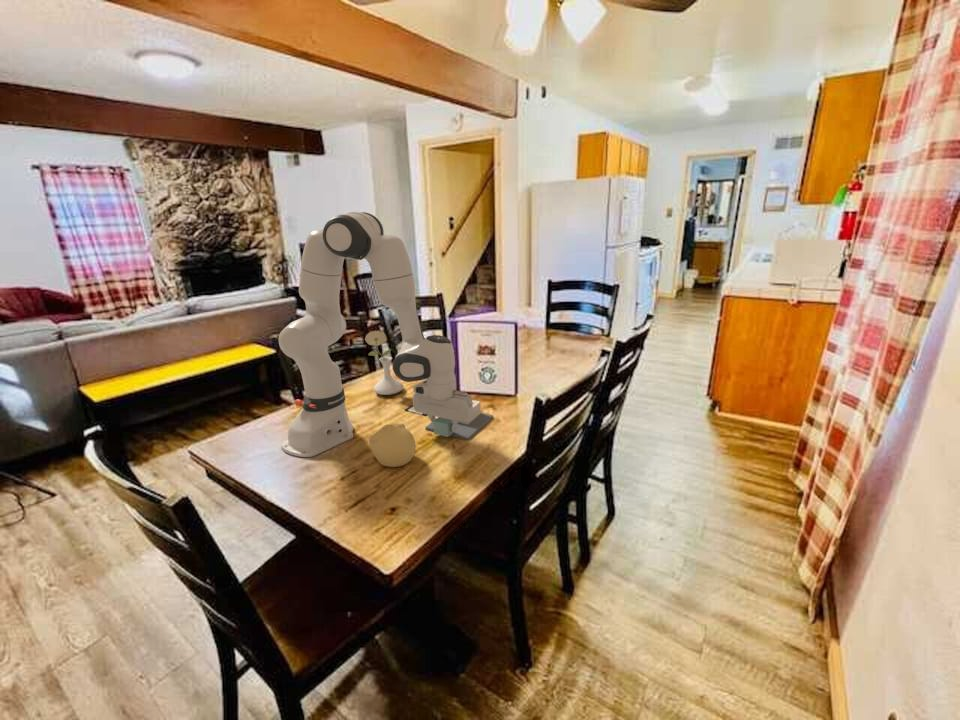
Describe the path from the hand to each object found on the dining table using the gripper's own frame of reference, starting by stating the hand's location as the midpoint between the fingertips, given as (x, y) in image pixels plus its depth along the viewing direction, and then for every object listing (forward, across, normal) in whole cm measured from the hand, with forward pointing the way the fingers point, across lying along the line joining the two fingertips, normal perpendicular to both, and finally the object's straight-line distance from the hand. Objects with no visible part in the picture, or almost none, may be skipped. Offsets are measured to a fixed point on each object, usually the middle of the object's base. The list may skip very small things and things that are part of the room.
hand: (444, 428), depth 137 cm
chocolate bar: (+3, +18, -18) cm, 26 cm away
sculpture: (+3, +5, +18) cm, 19 cm away
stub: (+1, 0, 0) cm, 1 cm away
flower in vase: (+3, +40, -20) cm, 45 cm away
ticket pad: (+2, 0, -9) cm, 10 cm away
